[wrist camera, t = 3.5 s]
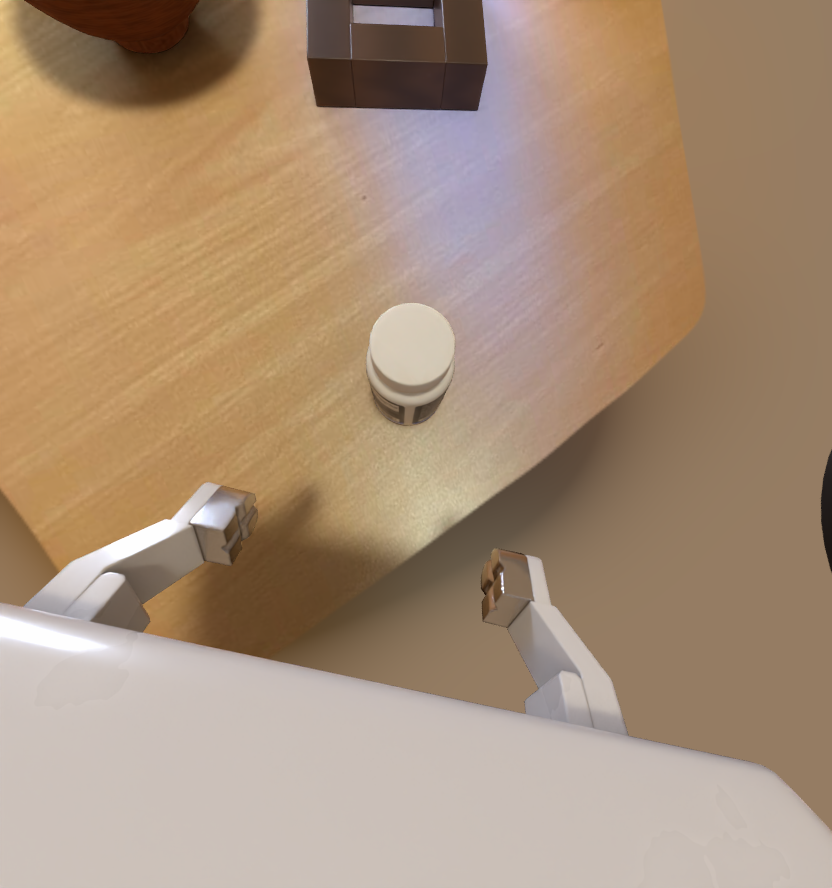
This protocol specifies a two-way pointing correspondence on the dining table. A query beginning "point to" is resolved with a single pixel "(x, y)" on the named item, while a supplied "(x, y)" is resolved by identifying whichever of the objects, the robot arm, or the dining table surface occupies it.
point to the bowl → (125, 20)
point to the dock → (397, 56)
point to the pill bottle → (410, 362)
